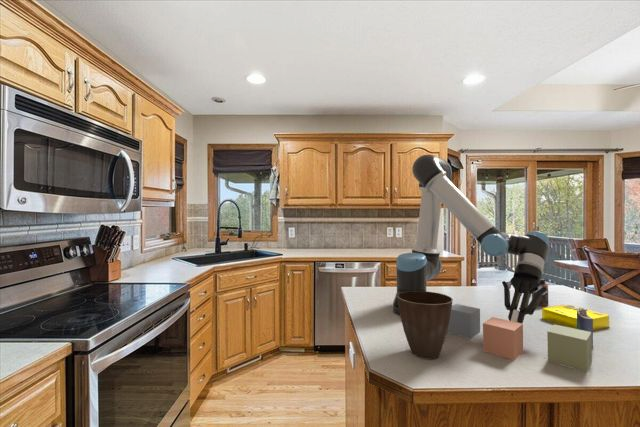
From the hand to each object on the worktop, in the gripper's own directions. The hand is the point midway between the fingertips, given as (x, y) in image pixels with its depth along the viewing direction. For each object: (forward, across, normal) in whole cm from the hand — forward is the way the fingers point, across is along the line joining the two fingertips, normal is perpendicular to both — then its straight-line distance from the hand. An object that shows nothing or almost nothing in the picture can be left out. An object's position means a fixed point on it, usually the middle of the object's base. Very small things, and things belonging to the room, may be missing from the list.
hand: (512, 330), depth 93 cm
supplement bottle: (-36, +6, -42) cm, 56 cm away
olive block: (+4, -14, -1) cm, 15 cm away
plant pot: (+22, +14, +16) cm, 30 cm away
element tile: (-24, -8, -30) cm, 39 cm away
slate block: (+5, +14, -1) cm, 15 cm away
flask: (-8, -14, -14) cm, 22 cm away
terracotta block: (+9, 0, +3) cm, 9 cm away
